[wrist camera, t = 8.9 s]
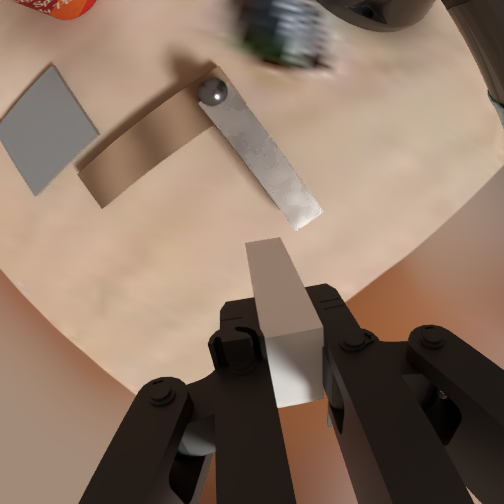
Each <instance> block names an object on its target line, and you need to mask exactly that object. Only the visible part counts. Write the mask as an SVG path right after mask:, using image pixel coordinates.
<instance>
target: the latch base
mask: <svg viewBox="0 0 504 504" xmlns="http://www.w3.org/2000/svg"><path fill="white" fill-rule="evenodd" d="M208 78H219V79H221V80H222V81H224V83H227V82H228V83H229V84H230V85H231V86H232V88H233V89H234V90H235V91H236V93H237V94H238V95H239V96H240V94H239V93H238V91H237V90H236V88H235V87H234V86H233V84H232V83H231V81H230V80H229V79H228V77H227V76H226V74H225V73H224V72H223V70H222V69H221V67H220V66H218V67H217V68H215V69H213V70H212V71H210V72H209V73H207V74H205V75H204V76H202V77H201V78H199V79H198V80H196V81H195V82H193V83H192V84H190V85H189V86H187V87H186V88H184V89H183V90H181V91H180V92H178V93H177V94H175V95H174V96H173V97H171V98H170V99H168V100H167V101H165V102H164V103H163V104H161V105H160V106H159V107H157V108H156V109H155V110H153V111H152V112H151V113H149V114H148V115H147V116H145V117H144V118H143V119H141V120H140V121H139V122H138V123H136V124H135V125H134V126H132V127H131V128H130V129H129V130H128V131H126V132H125V133H124V134H123V135H121V136H120V137H119V138H118V139H117V140H115V141H114V142H113V143H112V144H111V145H110V146H108V147H107V148H106V149H105V150H104V151H103V152H101V153H100V154H99V155H98V156H97V157H96V158H95V159H94V160H93V161H91V162H90V163H89V164H88V165H87V166H86V167H85V168H84V169H83V170H82V171H81V172H80V173H79V174H77V175H78V176H79V177H80V179H81V180H82V182H83V183H84V185H85V186H86V187H87V189H88V190H89V192H90V193H91V194H92V196H93V197H94V198H95V200H96V201H97V203H98V204H99V205H100V207H101V208H102V209H103V208H104V207H105V206H107V205H108V204H109V203H110V202H111V201H113V200H114V199H115V198H116V197H117V196H119V195H120V194H121V193H122V192H123V191H125V190H126V189H127V188H128V187H129V186H131V185H132V184H133V183H134V182H136V181H137V180H138V179H139V178H141V177H142V176H143V175H145V174H146V173H147V172H148V171H150V170H151V169H152V168H154V167H155V166H156V165H158V164H159V163H160V162H162V161H163V160H164V159H166V158H167V157H168V156H170V155H171V154H172V153H174V152H175V151H177V150H178V149H179V148H181V147H182V146H183V145H185V144H186V143H188V142H189V141H191V140H192V139H193V138H195V137H196V136H198V135H199V134H201V133H202V132H204V131H205V130H207V129H208V128H210V127H211V126H213V125H214V123H213V121H212V120H211V119H210V118H209V116H208V115H207V114H206V113H205V111H204V110H203V109H202V108H201V106H200V105H199V104H198V103H199V102H201V100H200V99H199V97H198V87H199V85H200V84H201V82H203V81H204V80H205V79H208ZM240 98H241V99H242V100H243V98H242V97H241V96H240ZM243 101H244V100H243ZM244 103H245V101H244ZM245 104H246V103H245Z"/></svg>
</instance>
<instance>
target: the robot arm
mask: <svg viewBox="0 0 504 504" xmlns="http://www.w3.org/2000/svg"><path fill="white" fill-rule="evenodd" d="M317 1H318V2H319V3H321V4H322V5H323V6H324V7H325V8H326V9H328V10H329V11H330V12H332V13H333V14H334V15H336V16H337V17H339V18H341V19H343V20H344V21H346V22H348V23H350V24H353V25H355V26H358V27H360V28H363V29H367V30H371V31H377V32H394V31H399V30H402V29H404V28H406V27H409V26H411V25H413V24H415V23H417V22H418V21H420V20H421V19H422V18H423V17H424V16H425V15H426V14H427V12H428V11H429V9H430V8H431V6H432V5H433V4H434V2H435V1H436V0H317ZM441 1H442V2H443V4H444V5H445V7H446V9H447V11H448V12H449V14H450V16H451V17H452V19H453V21H454V22H455V24H456V26H457V27H458V29H459V31H460V33H461V34H462V36H463V38H464V40H465V42H466V43H467V45H468V47H469V49H470V51H471V53H472V55H473V57H474V59H475V61H476V63H477V65H478V67H479V69H480V72H481V74H482V76H483V78H484V81H485V83H486V85H487V88H488V97H489V99H490V101H491V103H492V104H493V105H494V106H495V108H496V111H497V113H498V116H499V118H500V121H501V123H502V126H503V128H504V0H441ZM245 245H246V251H247V257H248V263H249V269H250V275H251V281H252V287H253V293H254V297H253V298H247V299H241V300H235V301H229V302H226V303H225V304H224V306H223V307H222V309H221V310H220V330H218V331H216V332H215V333H214V334H213V335H212V336H211V337H210V339H209V342H208V347H209V350H210V354H211V357H212V360H213V364H214V367H215V370H214V371H213V372H212V373H211V374H210V375H208V376H207V377H205V378H203V379H201V380H199V381H196V382H193V383H190V384H188V385H186V384H185V383H184V382H183V381H181V380H180V379H178V378H174V377H160V378H157V379H154V380H151V381H150V382H148V383H147V384H145V385H144V386H143V387H142V388H141V389H140V391H139V392H138V394H137V395H136V397H135V399H134V401H133V403H132V404H131V406H130V408H129V410H128V412H127V413H126V415H125V417H124V419H123V421H122V422H121V424H120V426H119V428H118V430H117V432H116V433H115V435H114V437H113V439H112V441H111V443H110V445H109V447H108V448H107V450H106V452H105V454H104V456H103V458H102V459H101V461H100V463H99V465H98V467H97V469H96V471H95V473H94V475H93V476H92V478H91V480H90V482H89V484H88V486H87V488H86V490H85V492H84V494H83V496H82V498H81V500H80V502H79V504H198V503H199V500H200V496H201V493H202V490H203V486H204V483H205V479H206V476H207V473H208V469H209V466H210V463H211V459H212V456H213V452H215V455H216V497H217V498H216V499H217V504H296V499H295V494H294V489H293V484H292V479H291V474H290V469H289V464H288V459H287V455H286V449H285V444H284V439H283V434H282V429H281V424H280V418H279V413H278V408H280V407H285V406H291V405H296V404H301V403H306V402H310V401H315V400H320V399H324V389H325V392H326V395H327V398H328V419H327V423H328V427H330V426H331V424H332V425H333V427H334V431H335V434H336V437H337V440H338V443H339V446H340V449H341V452H342V455H343V458H344V461H345V464H346V467H347V470H348V473H349V476H350V479H351V482H352V486H353V489H354V492H355V495H356V498H357V501H358V504H474V502H473V500H472V498H471V496H470V494H469V492H468V490H467V488H468V489H469V490H470V491H471V492H472V494H474V495H475V497H476V498H477V499H478V500H479V501H480V502H481V503H482V504H504V370H503V369H501V368H500V367H499V366H497V365H496V364H495V363H493V362H492V361H491V360H489V359H488V358H487V357H485V356H484V355H483V354H481V353H480V352H478V351H477V350H476V349H474V348H473V347H471V346H470V345H469V344H467V343H466V342H464V341H463V340H462V339H460V338H459V337H457V336H456V335H454V334H453V333H452V332H450V331H449V330H447V329H445V328H443V327H441V326H436V325H423V326H420V327H417V328H415V329H414V330H413V331H412V332H411V333H410V335H409V338H408V341H401V342H383V341H379V339H378V337H377V336H375V335H374V334H373V333H372V332H370V331H368V330H366V329H361V328H360V326H359V325H358V323H357V321H356V320H355V318H354V317H353V315H352V313H351V312H350V310H349V309H348V307H347V306H346V304H345V302H344V301H343V299H341V296H340V295H339V293H338V291H337V290H336V289H335V288H333V287H331V286H330V285H328V284H326V283H325V284H320V285H315V286H309V287H304V285H303V283H302V281H301V279H300V277H299V275H298V273H297V271H296V269H295V267H294V265H293V262H292V260H291V258H290V256H289V254H288V252H287V250H286V248H285V246H284V244H283V242H282V240H281V238H280V237H279V238H273V239H267V240H261V241H255V242H249V243H245ZM441 391H442V392H443V393H444V394H443V393H442V392H441ZM466 487H467V488H466Z"/></svg>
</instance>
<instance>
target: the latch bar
mask: <svg viewBox="0 0 504 504" xmlns="http://www.w3.org/2000/svg"><path fill="white" fill-rule="evenodd" d="M198 97H199V99H200V100H201V102H199V103H198V104H199V105H200V106H201V108H202V109H203V110H204V111H205V113H206V114H207V115H208V116H209V118H210V119H211V120H212V121H213V123H214V124H215V125H216V126H217V128H218V129H219V130H220V131H221V133H222V134H223V135H224V136H225V138H226V139H227V140H228V141H229V143H230V144H231V145H232V147H233V148H234V149H235V150H236V152H237V153H238V154H239V156H240V157H241V158H242V159H243V161H244V162H245V163H246V165H247V166H248V167H249V169H250V170H251V171H252V173H253V174H254V175H255V177H256V178H257V179H258V180H259V182H260V183H261V184H262V186H263V187H264V188H265V190H266V191H267V192H268V194H269V195H270V196H271V198H272V199H273V201H274V202H275V203H276V205H277V206H278V207H279V209H280V210H281V211H282V213H283V214H284V215H285V217H286V218H287V220H288V221H289V222H290V224H291V225H292V226H293V228H294V229H295V231H298V230H299V229H300V228H302V227H303V226H305V225H306V224H307V223H309V222H310V221H311V220H313V219H314V218H316V217H317V216H318V215H320V214H321V213H323V211H322V209H321V208H320V206H319V205H318V203H317V202H316V200H315V199H314V198H313V196H312V195H311V193H310V192H309V190H308V189H307V187H306V186H305V184H304V183H303V181H302V180H301V179H300V177H299V176H298V174H297V173H296V171H295V170H294V169H293V167H292V166H291V164H290V163H289V162H288V160H287V159H286V157H285V156H284V155H283V153H282V152H281V150H280V149H279V148H278V146H277V145H276V144H275V142H274V141H273V140H272V138H271V137H270V135H269V134H268V133H267V131H266V130H265V129H264V127H263V126H262V125H261V123H260V122H259V121H258V120H257V118H256V117H255V116H254V114H253V113H252V112H251V110H250V109H249V108H248V107H247V105H246V104H245V103H244V101H243V100H242V99H241V98H240V96H239V95H238V94H237V93H236V91H235V90H234V89H233V88H232V86H231V85H230V84H229V83H228V82H227V83H224V81H222V80H221V79H219V78H208V79H205V80H204V81H203V82H201V84H200V85H199V87H198Z"/></svg>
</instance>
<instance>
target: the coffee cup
mask: <svg viewBox="0 0 504 504" xmlns="http://www.w3.org/2000/svg"><path fill="white" fill-rule="evenodd" d="M11 1H14V2H16V3H19V4H22V5H24V6H27V7H30V8H32V9H35V10H37V11H40V12H42V13H45V14H48V15H50V16H53V17H55V18H58V19H62V20H70V19H74V18H77V17H79V16H81V15H82V14H84V13H85V12H86V11H88V10H89V9H90V8H91V7H92V6H93V4H94V3H95V2H96V0H11Z"/></svg>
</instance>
